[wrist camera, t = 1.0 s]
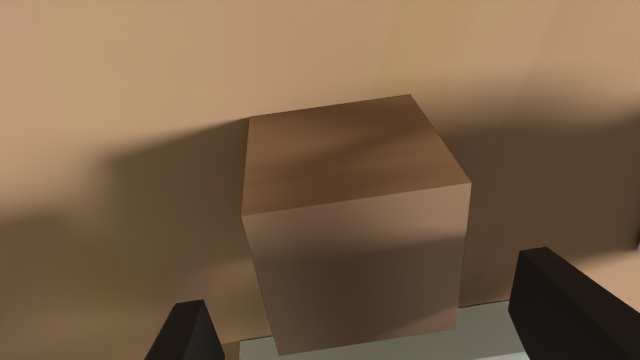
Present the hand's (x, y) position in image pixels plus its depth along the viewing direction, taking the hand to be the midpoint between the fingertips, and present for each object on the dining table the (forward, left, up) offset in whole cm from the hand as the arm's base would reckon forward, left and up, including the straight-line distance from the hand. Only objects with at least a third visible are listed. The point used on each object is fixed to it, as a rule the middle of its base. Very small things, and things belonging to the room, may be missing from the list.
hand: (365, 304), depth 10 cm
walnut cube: (0, 0, -6) cm, 6 cm away
